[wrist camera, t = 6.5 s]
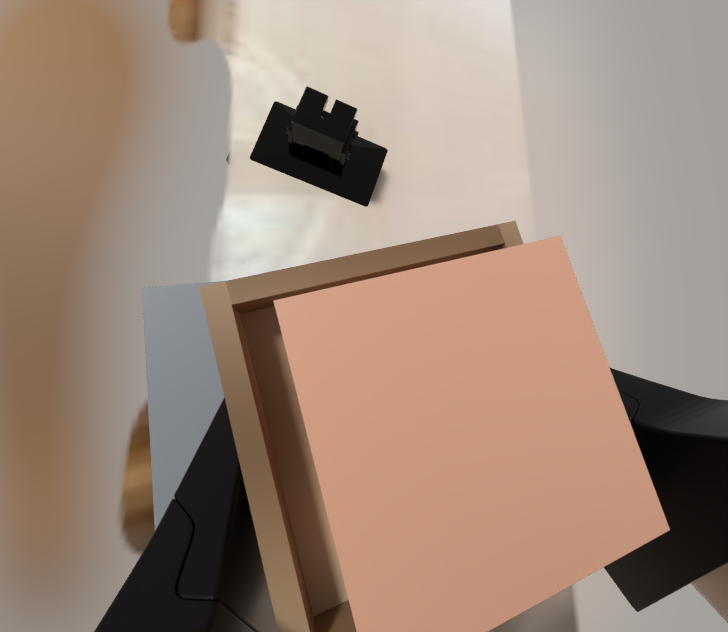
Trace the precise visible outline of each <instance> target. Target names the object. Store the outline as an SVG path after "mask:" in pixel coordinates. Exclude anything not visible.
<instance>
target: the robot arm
mask: <svg viewBox="0 0 728 632" xmlns="http://www.w3.org/2000/svg"><path fill="white" fill-rule="evenodd" d="M610 370H611V373H612V375H613V378H614V381H615V384H616V386H617V389H618V392H619V394H620V397H621V400H622V402H623V405H624V408H625V410H626V413H627V416H628V418H629V421H630V424H631V426H632V429H633V432H634V435H635V437H636V440H637V443H638V445H639V448H640V451H641V453H642V456H643V459H644V461H645V464H646V467H647V469H648V472H649V475H650V477H651V480H652V483H653V486H654V488H655V491H656V494H657V496H658V499H659V502H660V504H661V507H662V510H663V512H664V515H665V518H666V520H667V523H668V526H669V528H670V530H669V531H667V532H666V533H664V534H662V535H660V536H658V537H657V538H655V539H653V540H651V541H649V542H648V543H646V544H644V545H642V546H640V547H639V548H637V549H635V550H633V551H632V552H630V553H628V554H626V555H624V556H623V557H621V558H619V559H617V560H615V561H614V562H612V563H610V564H608V565H606V566H605V567H604V568H605V570H606V571H607V572H608V574H609V575H610V576H611V578H612V579H613V580H614V582H615V583H616V585H617V586H618V588H619V589H620V590H621V592H622V593H623V594H624V596H625V597H626V598H627V600H628V601H629V603H630V604H631V605H632V607H633V608H634V609H635V610H636V611H637V612H638V611H640V610H642V609H644V608H646V607H648V606H650V605H651V604H653V603H655V602H657V601H659V600H660V599H662V598H664V597H666V596H668V595H670V594H672V593H673V592H675V591H677V590H679V589H681V588H682V587H684V586H686V585H688V584H690V583H691V584H692V585H693V586H694V587H695V589H696V590H697V591H698V592H699V593H700V594H701V595H702V596H703V597H704V598H705V599H706V600H707V601H708V602H709V603H710V604H711V606H712V607H713V608H714V609H715V610H716V611H717V612H718V613H719V614H720V615H721V616H722V617H723V618H724V619H725V620H726V621H727V623H728V400H717V399H710V398H706V397H701V396H697V395H694V394H690V393H688V392H684V391H681V390H678V389H675V388H672V387H668V386H665V385H662V384H659V383H656V382H652V381H649V380H646V379H643V378H639V377H636V376H633V375H630V374H627V373H624V372H621V371H618V370H615V369H612V368H610ZM174 498H175V499H172V500H171V502H170V504H169V506H168V508H167V510H166V512H165V513H164V515H163V517H162V519H161V521H160V523H159V525H158V527H157V528H156V530H155V532H154V534H153V536H152V538H151V539H150V541H149V543H148V545H147V547H146V548H145V550H144V552H143V553H142V555H141V557H140V558H139V560H138V562H137V563H136V565H135V567H134V568H133V570H132V572H131V574H130V575H129V577H128V578H127V580H126V581H125V583H124V585H123V586H122V588H121V590H120V591H119V593H118V595H117V596H116V598H115V599H114V601H113V602H112V604H111V606H110V607H109V609H108V610H107V612H106V614H105V615H104V617H103V618H102V620H101V622H100V623H99V625H98V626H97V628H96V630H95V631H94V632H278V628H277V624H276V619H275V615H274V611H273V606H272V602H271V598H270V593H269V589H268V584H267V580H266V576H265V571H264V567H263V563H262V558H261V554H260V550H259V545H258V541H257V536H256V532H255V528H254V523H253V519H252V515H251V510H250V506H249V502H248V497H247V493H246V488H245V484H244V480H243V475H242V471H241V467H240V462H239V458H238V454H237V449H236V445H235V440H234V436H233V432H232V427H231V423H230V419H229V414H228V410H227V405H226V401H225V397H224V399H223V401H222V403H221V405H220V407H219V408H218V410H217V412H216V414H215V416H214V418H213V420H212V422H211V424H210V426H209V428H208V430H207V432H206V434H205V436H204V438H203V440H202V442H201V444H200V446H199V447H198V449H197V451H196V453H195V455H194V457H193V459H192V461H191V463H190V465H189V467H188V469H187V471H186V473H185V475H184V477H183V479H182V481H181V483H180V485H179V486H178V488H177V490H176V492H175V494H174Z"/></svg>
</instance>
